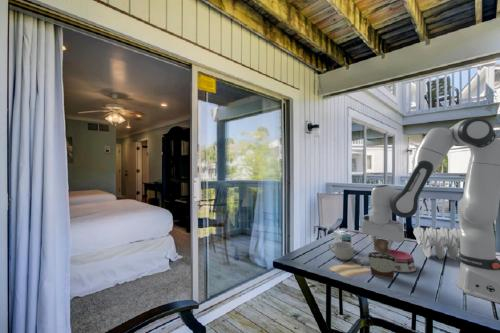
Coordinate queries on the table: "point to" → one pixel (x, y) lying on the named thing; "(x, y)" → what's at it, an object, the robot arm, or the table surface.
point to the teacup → (342, 250)
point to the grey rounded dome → (363, 261)
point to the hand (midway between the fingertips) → (382, 247)
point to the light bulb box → (342, 236)
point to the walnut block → (381, 245)
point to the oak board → (349, 269)
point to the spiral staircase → (438, 241)
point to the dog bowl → (403, 261)
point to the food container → (382, 264)
